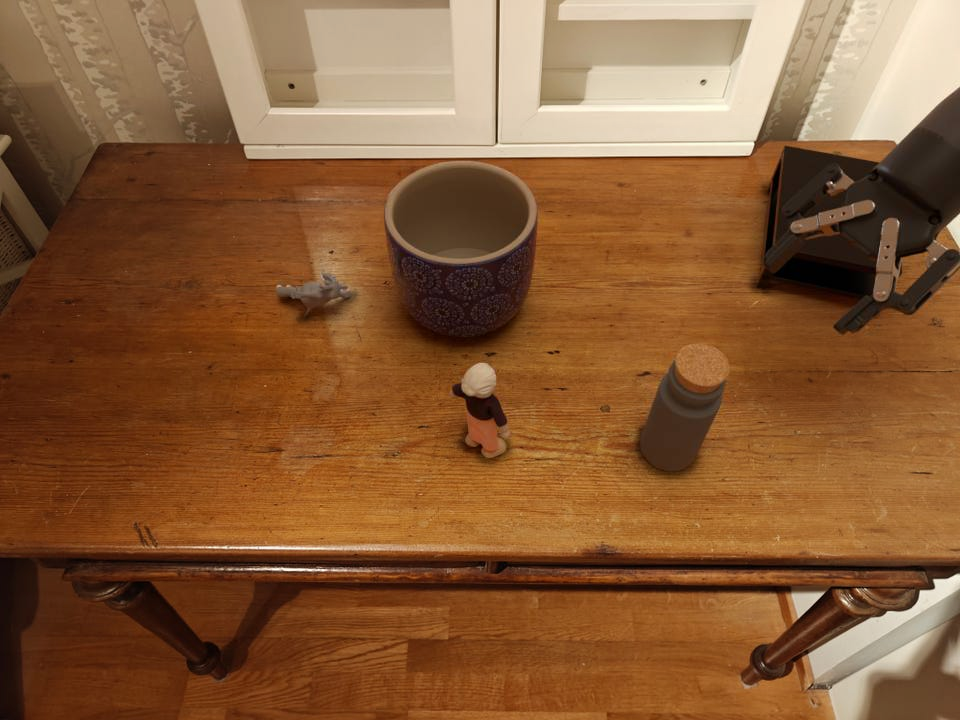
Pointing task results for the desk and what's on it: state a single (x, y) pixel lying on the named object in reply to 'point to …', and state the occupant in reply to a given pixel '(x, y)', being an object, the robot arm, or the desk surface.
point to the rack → (820, 258)
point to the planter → (461, 245)
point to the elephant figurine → (315, 291)
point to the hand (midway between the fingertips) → (801, 299)
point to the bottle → (684, 407)
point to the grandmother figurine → (482, 410)
